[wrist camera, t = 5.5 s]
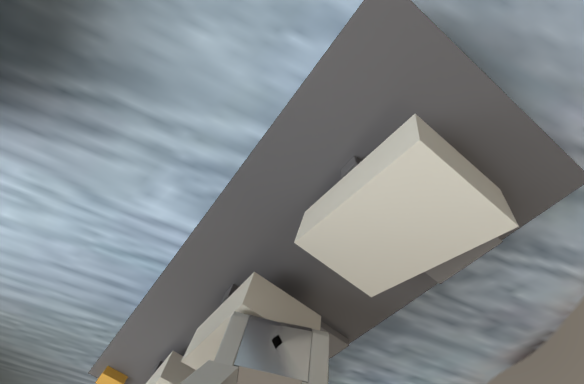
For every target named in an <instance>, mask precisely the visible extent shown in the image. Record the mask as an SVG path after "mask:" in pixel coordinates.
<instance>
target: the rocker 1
mask: <svg viewBox="0 0 584 384" xmlns="http://www.w3.org/2000/svg"><path fill="white" fill-rule="evenodd" d="M182 358H183V356H182V355H180V354H178V353H176V352H175V351H172V352H171V353H170V355H169V356H168V357H167V358H166V359H165V361H164V362H163V363H162V364H161V366H160V367H159V368H158V369H157V370H156V372H155V373H154V374H153V375H152V377H151V378H150V379H149V380H148V381H147V383H146V384H180V383H181V382H183V381H184V380H185V379H186V378H187V377H189V376H190V375H191V374H192V373H194V372H195V371H196V370H195V369H193V368H191V367H190V366H188V365H186V364H184V363H183V362H181V360H182Z"/></svg>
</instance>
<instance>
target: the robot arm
mask: <svg viewBox="0 0 584 384" xmlns="http://www.w3.org/2000/svg"><path fill="white" fill-rule="evenodd" d="M328 368H329V334H328V332H324V331H320V330H315V329H312V328H308V327H303V326H298V325H293V324H288V323H284V322H281V323H280V322H276V321H272V320H268V319H264V318H260V317H256V316H252V315H248V314H244V313H240V312H235V311H234V313H233V314H232V316H231V318H230V321H229V323H228V326H227V328H226V331H225V334H224V336H223V339H222V341H221V344H220V346H219V349H218V352H217V354H216V357H215V359H214V361H212V360H208V361H207V362H206V363H205V364H203V365H202V366H201V367H200V368H198V369H197V370H196V371H195V372H194V373H192V374H191V375H190V376H189V377H187V378H186V379H185V380H184V381H183V382H181V383H180V384H328Z"/></svg>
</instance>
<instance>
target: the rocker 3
mask: <svg viewBox="0 0 584 384" xmlns="http://www.w3.org/2000/svg"><path fill="white" fill-rule="evenodd" d="M517 227H519V226H518V224H517V222H516V220H515V218H514V216H513V214H512V212H511V210H510V208H509V206H508V204H507V202H506V200H505V198H504V196H503V194H502V192H501V190H500V189H499V188H498V187H497V186H496V185H495V184H494V183H493V182H491V181H490V180H489V179H488V178H487V177H486V176H485V175H484V174H483V173H481V172H480V171H479V170H478V169H477V168H476V167H475V166H474V165H472V164H471V163H470V162H469V161H468V160H467V159H466V158H465V157H463V156H462V155H461V154H460V153H459V152H458V151H457V150H456V149H454V148H453V147H452V146H451V145H450V144H449V143H448V142H447V141H445V140H444V139H443V138H442V137H441V136H440V135H439V134H438V133H437V132H435V131H434V130H433V129H432V128H431V127H430V126H429V125H428V124H426V123H425V122H424V121H423V120H422V119H421V118H420V117H419V116H417V115H416V114H414V115H413V116H412V117H411V118H409V119H408V120H407V121H406V122H405V123H404V124H403V125H402V126H400V127H399V128H398V129H397V130H396V131H395V132H394V133H393V134H391V135H390V136H389V137H388V138H387V139H386V140H385V141H384V142H383V143H381V144H380V145H379V146H378V147H377V148H376V149H375V150H374V151H372V152H371V153H370V154H369V155H368V156H367V157H366V158H365V159H363V160H362V161H361V162H360V163H359V164H358V165H357V166H356V167H355V168H353V169H352V170H351V171H350V172H349V173H348V174H347V175H346V176H344V177H343V178H342V179H341V180H340V181H339V182H338V183H337V184H336V185H334V186H333V187H332V188H331V189H330V190H329V191H328V192H327V193H325V194H324V195H323V196H322V197H321V198H320V199H319V200H318V201H316V202H315V203H314V204H313V205H312V206H311V207H310V208H309V209H308V210H306V211H305V213H304V216H303V219H302V221H301V224H300V227H299V230H298V233H297V235H296V238H295V241H294V243H295V244H297V245H298V246H299V247H301V248H302V249H304V250H305V251H307V252H308V253H309V254H311V255H312V256H314V257H315V258H316V259H318V260H319V261H321V262H322V263H323V264H325V265H326V266H328V267H329V268H330V269H332V270H333V271H335V272H336V273H338V274H339V275H340V276H342V277H343V278H345V279H346V280H347V281H349V282H350V283H352V284H353V285H354V286H356V287H357V288H359V289H360V290H362V291H363V292H364V293H366V294H367V295H369V296H370V297H373V296H375V295H377V294H379V293H381V292H383V291H385V290H388V289H390V288H392V287H394V286H396V285H398V284H400V283H402V282H404V281H406V280H408V279H410V278H413V277H415V276H417V275H419V274H421V273H423V272H425V271H427V270H429V269H431V268H433V267H435V266H438V265H440V264H442V263H444V262H446V261H448V260H450V259H452V258H454V257H456V256H458V255H461V254H463V253H465V252H467V251H469V250H471V249H473V248H475V247H477V246H479V245H481V244H483V243H486V242H488V241H490V240H492V239H494V238H496V237H498V236H500V235H502V234H504V233H506V232H508V231H511V230H513V229H515V228H517Z"/></svg>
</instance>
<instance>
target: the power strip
mask: <svg viewBox="0 0 584 384" xmlns="http://www.w3.org/2000/svg"><path fill="white" fill-rule="evenodd" d="M414 114H416V115H417V116H419V117H420V118H421V119H422V120H423V121H424V122H425V123H426V124H428V125H429V126H430V127H431V128H432V129H433V130H434V131H435V132H437V133H438V134H439V135H440V136H441V137H442V138H443V139H444V140H445V141H447V142H448V143H449V144H450V145H451V146H452V147H453V148H454V149H456V150H457V151H458V152H459V153H460V154H461V155H462V156H463V157H465V158H466V159H467V160H468V161H469V162H470V163H471V164H472V165H474V166H475V167H476V168H477V169H478V170H479V171H480V172H481V173H483V174H484V175H485V176H486V177H487V178H488V179H489V180H490V181H491V182H493V183H494V184H495V185H496V186H497V187H498V188H499V189H500V190H501V192H502V194H503V196H504V198H505V200H506V202H507V204H508V206H509V208H510V210H511V212H512V214H513V216H514V218H515V220H516V222H517V224H518V226H519V227H517V228H515V229H513V230H511V231H508V232H506V233H504V234H502V235H500V236H498V237H496V238H494V239H492V240H490V241H488V242H486V243H483V244H481V245H479V246H477V247H475V248H473V249H471V250H469V251H467V252H465V253H463V254H461V255H458V256H456V257H454V258H452V259H450V260H448V261H446V262H444V263H442V264H440V265H438V266H435V267H433V268H431V269H429V270H427V271H425V272H423V273H421V274H419V275H417V276H415V277H413V278H410V279H408V280H406V281H404V282H402V283H400V284H398V285H396V286H394V287H392V288H390V289H388V290H385V291H383V292H381V293H379V294H377V295H375V296H373V297H370V296H369V295H367V294H366V293H364V292H363V291H362V290H360V289H359V288H357V287H356V286H354V285H353V284H352V283H350V282H349V281H347V280H346V279H345V278H343V277H342V276H340V275H339V274H338V273H336V272H335V271H333V270H332V269H330V268H329V267H328V266H326V265H325V264H323V263H322V262H321V261H319V260H318V259H316V258H315V257H314V256H312V255H311V254H309V253H308V252H307V251H305V250H304V249H302V248H301V247H299V246H298V245H297V244H295V243H294V241H295V238H296V235H297V233H298V230H299V227H300V224H301V221H302V219H303V216H304V213H305V211H306V210H308V209H309V208H310V207H311V206H312V205H313V204H314V203H315V202H316V201H318V200H319V199H320V198H321V197H322V196H323V195H324V194H325V193H327V192H328V191H329V190H330V189H331V188H332V187H333V186H334V185H336V184H337V183H338V182H339V181H340V180H341V179H342V178H343V177H344V176H346V175H347V174H348V173H349V172H350V171H351V170H352V169H353V168H355V167H356V166H357V165H358V164H359V163H360V162H361V161H362V160H363V159H365V158H366V157H367V156H368V155H369V154H370V153H371V152H372V151H374V150H375V149H376V148H377V147H378V146H379V145H380V144H381V143H383V142H384V141H385V140H386V139H387V138H388V137H389V136H390V135H391V134H393V133H394V132H395V131H396V130H397V129H398V128H399V127H400V126H402V125H403V124H404V123H405V122H406V121H407V120H408V119H409V118H411V117H412V116H413V115H414ZM582 185H584V170H583V169H582V168H581V167H580V166H578V165H577V164H576V163H575V162H574V161H573V160H572V159H571V158H570V157H569V156H568V155H567V154H566V153H565V152H564V151H563V150H562V149H561V148H560V147H559V146H558V145H557V144H556V143H555V142H554V141H553V140H552V139H551V138H550V137H549V136H548V135H547V134H546V133H545V132H544V131H543V130H542V129H541V128H540V127H539V126H538V125H537V124H536V123H535V122H534V121H533V120H532V119H531V118H530V117H529V116H528V115H527V114H526V113H525V112H524V111H523V110H522V109H521V108H520V107H518V106H517V105H516V104H515V103H514V102H513V101H512V100H511V99H510V98H509V97H508V96H507V95H506V94H505V93H504V92H503V91H502V90H501V89H500V88H499V87H498V86H497V85H496V84H495V83H494V82H493V81H492V80H491V79H490V78H489V77H488V76H487V75H486V74H485V73H484V72H483V71H482V70H481V69H480V68H479V67H478V66H477V65H476V64H475V63H474V62H473V61H472V60H471V59H470V58H469V57H468V56H467V55H466V54H465V53H464V52H463V51H462V50H461V49H460V48H459V47H457V46H456V45H455V44H454V43H453V42H452V41H451V40H450V39H449V38H448V37H447V36H446V35H445V34H444V33H443V32H442V31H441V30H440V29H439V28H438V27H437V26H436V25H435V24H434V23H433V22H432V21H431V20H430V19H429V18H428V17H427V16H426V15H425V14H424V13H423V12H422V11H421V10H420V9H419V8H418V7H417V6H416V5H415V4H414V3H413V2H412V1H411V0H364V1H363V2H362V4H361V5H360V6H359V8H358V9H357V10H356V12H355V13H354V14H353V16H352V17H351V18H350V20H349V21H348V23H347V24H346V25H345V27H344V28H343V29H342V31H341V32H340V33H339V35H338V36H337V37H336V39H335V40H334V41H333V43H332V44H331V45H330V47H329V48H328V50H327V51H326V52H325V54H324V55H323V56H322V58H321V59H320V60H319V62H318V63H317V64H316V66H315V67H314V68H313V70H312V71H311V73H310V74H309V75H308V77H307V78H306V79H305V81H304V82H303V83H302V85H301V86H300V87H299V89H298V90H297V91H296V93H295V94H294V95H293V97H292V98H291V100H290V101H289V102H288V104H287V105H286V106H285V108H284V109H283V110H282V112H281V113H280V114H279V116H278V117H277V118H276V120H275V121H274V123H273V124H272V125H271V127H270V128H269V129H268V131H267V132H266V133H265V135H264V136H263V137H262V139H261V140H260V141H259V143H258V144H257V145H256V147H255V148H254V150H253V151H252V152H251V154H250V155H249V156H248V158H247V159H246V160H245V162H244V163H243V164H242V166H241V167H240V168H239V170H238V171H237V173H236V174H235V175H234V177H233V178H232V179H231V181H230V182H229V183H228V185H227V186H226V187H225V189H224V190H223V191H222V193H221V194H220V195H219V197H218V198H217V200H216V201H215V202H214V204H213V205H212V206H211V208H210V209H209V210H208V212H207V213H206V214H205V216H204V217H203V218H202V220H201V221H200V223H199V224H198V225H197V227H196V228H195V229H194V231H193V232H192V233H191V235H190V236H189V237H188V239H187V240H186V241H185V243H184V244H183V245H182V247H181V248H180V250H179V251H178V252H177V254H176V255H175V256H174V258H173V259H172V260H171V262H170V263H169V264H168V266H167V267H166V268H165V270H164V271H163V273H162V274H161V275H160V277H159V278H158V279H157V281H156V282H155V283H154V285H153V286H152V287H151V289H150V290H149V291H148V293H147V294H146V295H145V297H144V298H143V300H142V301H141V302H140V304H139V305H138V306H137V308H136V309H135V310H134V312H133V313H132V314H131V316H130V317H129V318H128V320H127V321H126V323H125V324H124V325H123V327H122V328H121V329H120V331H119V332H118V333H117V335H116V336H115V337H114V339H113V340H112V341H111V343H110V344H109V345H108V347H107V348H106V350H105V351H104V352H103V354H102V355H101V356H100V358H99V359H98V360H97V362H96V363H95V364H94V366H93V367H92V368H91V370H90V371H89V374H91V375H93V376H95V377H96V378H98V379H97V381H96V382H95V383H97V384H146V383H147V381H148V380H149V379H150V378H151V377H152V375H153V374H154V373H155V372H156V370H157V369H158V368H159V367H160V366H161V364H162V363H163V362H164V361H165V359H166V358H167V357H168V356H169V355H170V353H171V352H172V351H175V352H176V353H178V354H180V355H182V356H184V354H185V352H186V350H187V348H188V346H189V344H190V342H191V340H192V338H193V336H194V334H195V332H196V330H197V328H198V327H199V326H200V325H201V324H202V323H203V322H204V321H205V320H206V319H207V318H208V317H209V316H210V315H211V314H212V313H213V312H214V311H215V310H216V309H217V308H218V307H219V306H220V305H221V304H222V303H223V302H224V301H225V300H227V299H228V298H229V297H230V296H231V295H232V294H233V293H234V292H235V291H236V290H237V289H238V288H239V287H240V286H241V285H242V284H243V283H244V282H245V281H246V280H247V279H248V278H249V277H250V276H251V275H252V274H253V273H254V272H256V273H257V274H259V275H260V276H262V277H263V278H265V279H266V280H268V281H269V282H271V283H272V284H274V285H275V286H277V287H278V288H280V289H281V290H283V291H284V292H286V293H287V294H289V295H290V296H292V297H293V298H295V299H296V300H298V301H299V302H301V303H302V304H304V305H305V306H307V307H308V308H310V309H311V310H313V311H314V312H316V313H317V314H319V315H320V316H321V326H320V331H324V332H328V334H329V359H330V358H332V357H333V356H335V355H336V354H338V353H339V352H340V351H342V350H343V349H345V348H346V347H348V346H349V344H350V343H351V342H352V341H354V340H355V339H357V338H358V337H360V336H361V335H363V334H364V333H366V332H367V331H369V330H370V329H372V328H373V327H375V326H376V325H378V324H379V323H380V322H382V321H383V320H385V319H386V318H388V317H389V316H391V315H392V314H394V313H395V312H397V311H398V310H400V309H401V308H403V307H404V306H406V305H407V304H408V303H410V302H411V301H413V300H414V299H416V298H417V297H419V296H420V295H422V294H423V293H425V292H426V291H428V290H429V289H431V288H432V287H433V286H435V285H436V284H438V283H439V284H441V283H443V282H444V281H446V280H447V279H449V278H450V277H452V276H453V275H455V274H456V273H457V272H459V271H460V270H462V269H463V268H465V267H466V266H468V265H469V264H471V263H472V262H474V261H475V260H477V259H478V258H480V257H481V256H483V255H484V254H486V253H487V252H489V251H490V250H492V249H493V248H495V247H496V246H497V245H499V244H500V243H502V242H503V241H502V240H503V239H504V238H506V237H507V236H509V235H510V234H512V233H513V232H514V231H516V230H517V229H519V228H520V227H522V226H523V225H525V224H526V223H528V222H529V221H531V220H532V219H534V218H535V217H537V216H538V215H540V214H541V213H542V212H544V211H545V210H547V209H548V208H550V207H551V206H553V205H554V204H556V203H557V202H559V201H560V200H562V199H563V198H565V197H566V196H568V195H569V194H570V193H572V192H573V191H575V190H576V189H578V188H579V187H581V186H582Z"/></svg>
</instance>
